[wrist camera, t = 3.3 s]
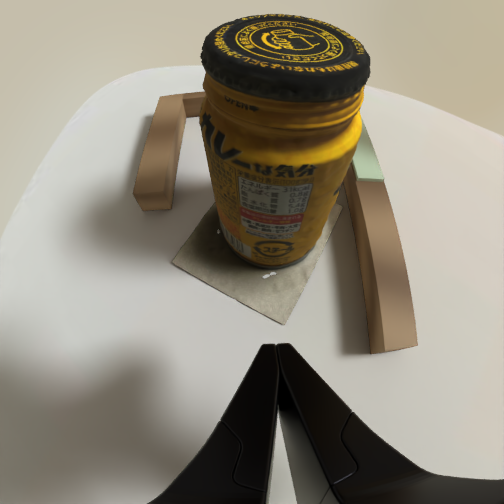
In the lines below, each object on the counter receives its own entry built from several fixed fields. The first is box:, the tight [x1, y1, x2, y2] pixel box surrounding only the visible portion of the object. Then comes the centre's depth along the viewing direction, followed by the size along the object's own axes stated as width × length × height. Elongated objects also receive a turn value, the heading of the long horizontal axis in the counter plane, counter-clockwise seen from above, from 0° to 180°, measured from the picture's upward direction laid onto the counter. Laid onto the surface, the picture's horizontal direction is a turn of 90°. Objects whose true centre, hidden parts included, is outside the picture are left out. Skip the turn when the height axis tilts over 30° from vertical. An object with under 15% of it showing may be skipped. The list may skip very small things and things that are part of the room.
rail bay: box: [133, 92, 418, 354], centre depth 17 cm, size 19×16×2 cm
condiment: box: [172, 14, 370, 325], centre depth 12 cm, size 7×8×12 cm
